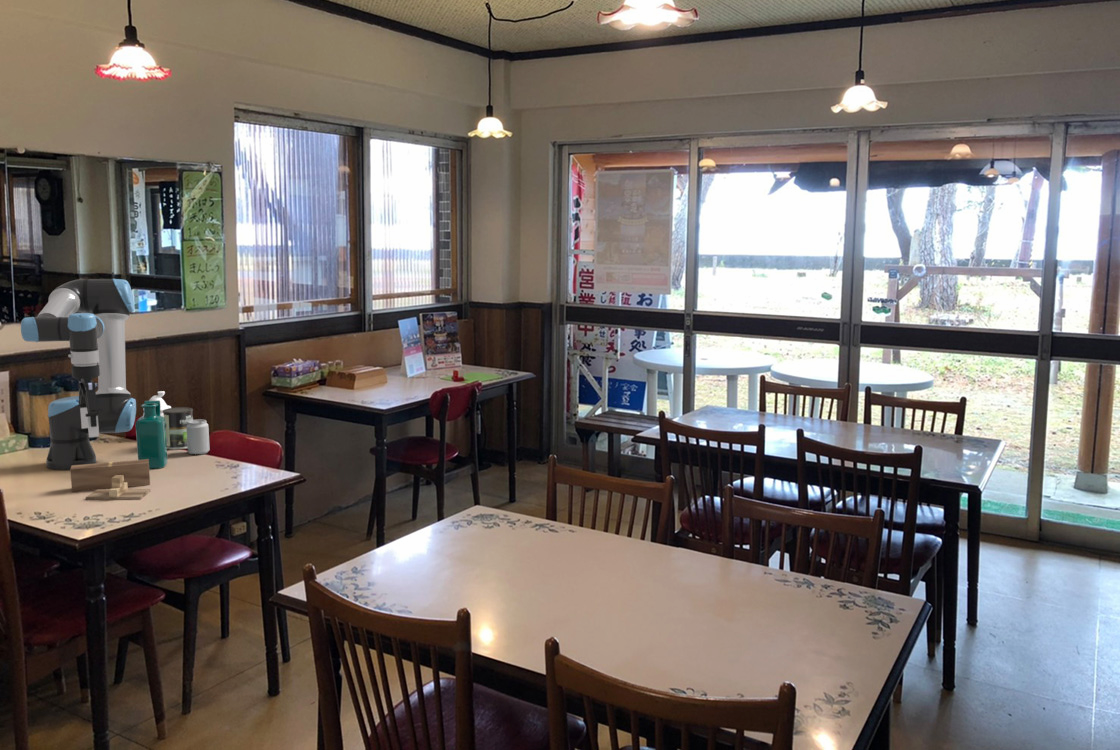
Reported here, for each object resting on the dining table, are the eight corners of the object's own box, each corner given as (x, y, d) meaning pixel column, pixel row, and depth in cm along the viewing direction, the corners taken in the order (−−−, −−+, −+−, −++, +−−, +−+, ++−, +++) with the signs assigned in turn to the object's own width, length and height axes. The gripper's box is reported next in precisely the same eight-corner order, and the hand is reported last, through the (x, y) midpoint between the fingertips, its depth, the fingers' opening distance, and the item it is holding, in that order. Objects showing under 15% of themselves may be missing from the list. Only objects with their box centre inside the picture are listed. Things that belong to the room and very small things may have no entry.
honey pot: (177, 432, 355) (175, 388, 352) (174, 440, 343) (171, 394, 340) (142, 434, 351) (139, 389, 348) (138, 441, 339) (135, 395, 336)
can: (214, 451, 326) (212, 419, 324) (198, 456, 320) (196, 423, 318) (199, 449, 329) (197, 417, 327) (183, 453, 323) (181, 421, 321)
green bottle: (164, 468, 303) (160, 405, 300) (137, 469, 301) (133, 406, 298) (169, 461, 313) (165, 399, 309) (143, 462, 311) (139, 400, 307)
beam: (73, 488, 280) (71, 465, 279) (150, 481, 289) (148, 458, 288) (72, 492, 275) (70, 469, 274) (150, 485, 284) (148, 462, 283)
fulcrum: (97, 491, 276) (95, 473, 275) (150, 491, 277) (149, 472, 276) (86, 499, 268) (84, 480, 267) (140, 499, 269) (139, 480, 268)
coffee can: (200, 444, 336) (198, 408, 334) (180, 450, 327) (178, 413, 325) (179, 441, 340) (177, 405, 338) (158, 448, 330) (156, 411, 328)
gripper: (65, 359, 277) (70, 425, 281) (77, 371, 257) (83, 442, 261) (92, 357, 281) (96, 422, 285) (106, 369, 262) (111, 439, 265)
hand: (90, 432), depth 273 cm, fingers open, 13 cm apart
